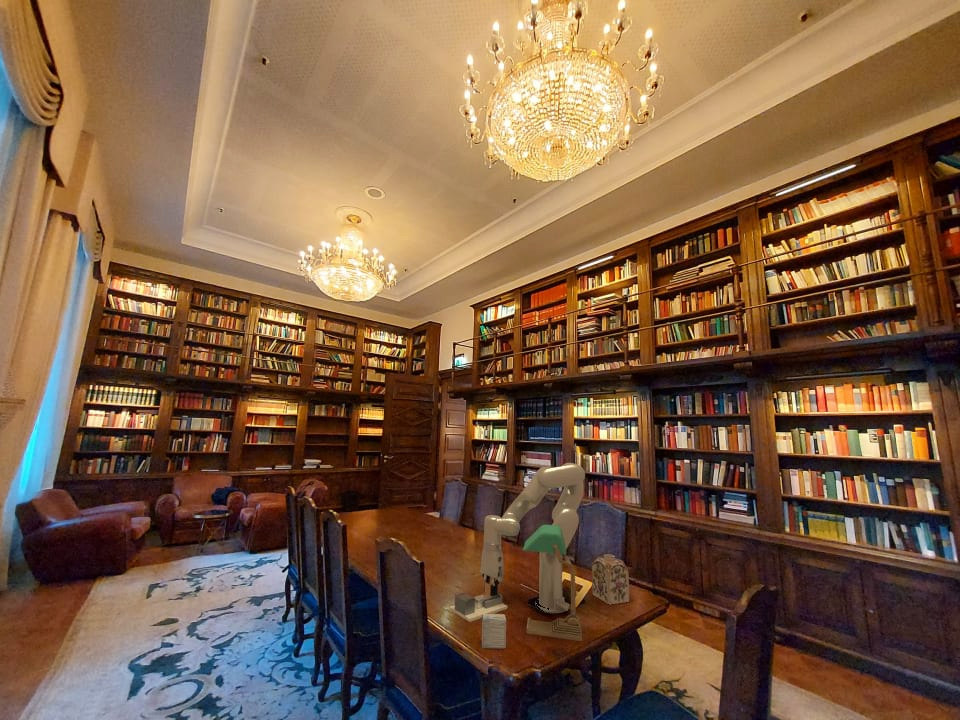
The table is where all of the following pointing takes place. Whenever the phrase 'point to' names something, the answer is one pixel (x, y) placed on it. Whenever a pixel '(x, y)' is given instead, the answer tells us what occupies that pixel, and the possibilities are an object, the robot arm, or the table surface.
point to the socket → (464, 604)
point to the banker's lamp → (570, 628)
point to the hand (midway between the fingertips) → (490, 593)
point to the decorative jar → (610, 580)
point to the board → (484, 609)
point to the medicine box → (493, 631)
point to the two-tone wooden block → (484, 596)
